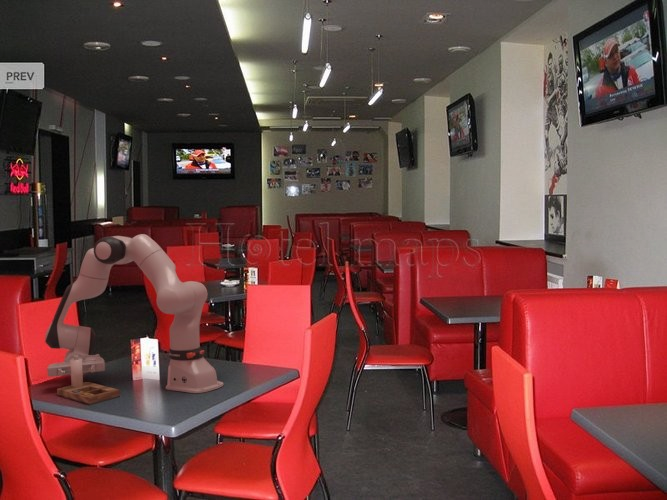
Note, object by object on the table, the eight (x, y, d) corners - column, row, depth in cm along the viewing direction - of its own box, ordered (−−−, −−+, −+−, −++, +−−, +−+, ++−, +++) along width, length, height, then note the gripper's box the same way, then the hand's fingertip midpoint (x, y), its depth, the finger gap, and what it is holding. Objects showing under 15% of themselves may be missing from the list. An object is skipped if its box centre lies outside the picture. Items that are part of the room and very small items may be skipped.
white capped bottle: (83, 384, 248) (81, 354, 248) (83, 387, 245) (81, 356, 244) (71, 385, 247) (70, 355, 246) (71, 388, 243) (70, 357, 242)
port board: (119, 396, 240) (119, 388, 240) (89, 404, 230) (89, 396, 230) (87, 388, 253) (86, 380, 253) (57, 395, 243) (56, 387, 243)
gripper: (46, 359, 253) (45, 367, 241) (103, 353, 261) (105, 360, 248) (47, 375, 254) (46, 384, 241) (104, 369, 261) (106, 377, 249)
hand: (76, 372), depth 245 cm, fingers open, 8 cm apart
